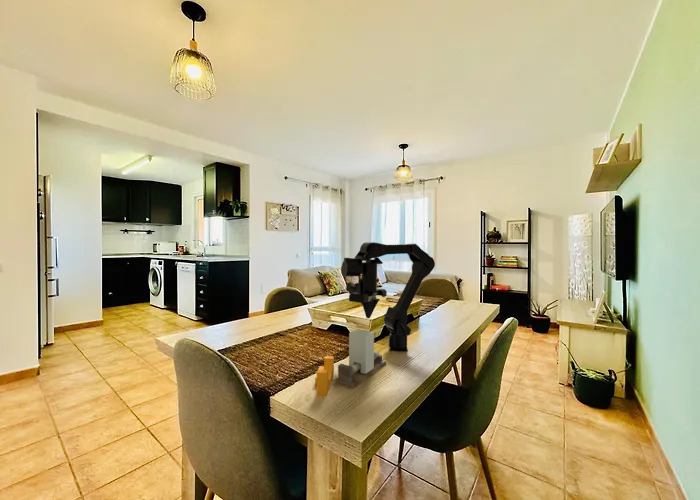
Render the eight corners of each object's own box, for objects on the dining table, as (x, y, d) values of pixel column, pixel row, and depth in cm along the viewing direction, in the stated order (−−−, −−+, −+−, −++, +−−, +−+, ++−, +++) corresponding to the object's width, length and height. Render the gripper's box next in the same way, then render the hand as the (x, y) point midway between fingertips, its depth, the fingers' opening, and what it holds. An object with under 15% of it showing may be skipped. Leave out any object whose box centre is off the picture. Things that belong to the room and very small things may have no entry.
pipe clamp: (319, 376, 92) (320, 355, 92) (333, 377, 92) (333, 356, 92) (310, 396, 81) (310, 372, 80) (326, 397, 80) (326, 373, 80)
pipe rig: (370, 360, 105) (371, 344, 105) (386, 364, 102) (386, 348, 102) (335, 383, 88) (335, 364, 88) (352, 388, 84) (352, 369, 84)
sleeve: (357, 363, 98) (357, 329, 98) (373, 368, 94) (374, 332, 94) (349, 369, 94) (349, 332, 93) (365, 373, 90) (365, 336, 90)
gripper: (363, 273, 124) (362, 310, 124) (336, 276, 108) (335, 319, 108) (387, 275, 117) (386, 314, 118) (363, 278, 102) (362, 324, 102)
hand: (368, 318), depth 112 cm, fingers closed
